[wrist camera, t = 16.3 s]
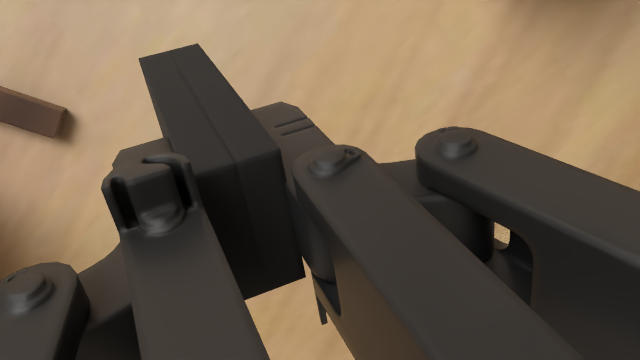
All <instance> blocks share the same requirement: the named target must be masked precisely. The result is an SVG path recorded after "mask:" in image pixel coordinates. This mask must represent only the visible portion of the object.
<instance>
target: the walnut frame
mask: <svg viewBox="0 0 640 360" xmlns="http://www.w3.org/2000/svg"><path fill="white" fill-rule="evenodd" d="M65 112H66V108H63V107H60V106H57V105H54V104H51V103H48V102H45V101H42V100H39V99H37V98H34V97H31V96H28V95H25V94H22V93H19V92H16V91H13V90H10V89H7V88H4V87H1V86H0V121H2V122H5V123H8V124H11V125H14V126H17V127H20V128H23V129H26V130H29V131H33V132H36V133H39V134H42V135H45V136H48V137H51V138H56V137H57V136H58V135H59V133H60V129H61V126H62V122H63V119H64V115H65Z"/></svg>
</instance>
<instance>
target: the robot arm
mask: <svg viewBox="0 0 640 360" xmlns="http://www.w3.org/2000/svg"><path fill="white" fill-rule="evenodd" d="M139 62H140V65H141V68H142V71H143V74H144V77H145V81H146V84H147V87H148V90H149V93H150V96H151V99H152V103H153V106H154V109H155V112H156V115H157V118H158V122H159V125H160V128H161V131H162V134H163V137H164V138H161V139H158V140H154V141H151V142H147V143H144V144H141V145H137V146H134V147H130V148H127V149H123V150H120V152H119V154H118V155H117V157H116V159H115V160H114V162H113V164H112V166H113V170H112V171H111V172H110V173H109V174H108V175H107V176H106V177H105V179H104V180H103V183H102V187H101V190H102V192H103V195H104V197H105V200H106V202H107V205H108V207H109V210H110V212H111V215H112V217H113V220H114V222H115V225H116V227H117V230H118V232H119V236H120V243H119V244H118V245H117V247H116V248H115V249H114V250H113V251H112V252H111V253H110V254H109V255H107V256H106V257H105V258H104V259H102V260H101V261H99V262H98V263H96V264H95V265H93V266H91V267H89V268H88V269H86V270H84V271H82V272H80V273H79V274H77V273H76V272H75V271H74V269H73V268H72V267H71V266H70V265H67V264H63V263H59V262H52V263H40V264H37V265H34V266H31V267H26V268H23V269H21V270H19V271H16V273H12V274H11V275H9V276H7V277H6V278H4V279H3V280H2V281H1V282H0V360H270V358H269V356H268V354H267V351H266V349H265V347H264V345H263V342H262V340H261V338H260V335H259V333H258V331H257V328H256V326H255V324H254V322H253V319H252V317H251V315H250V312H249V310H248V308H247V306H246V303H245V301H244V300H246V299H249V298H252V297H254V296H257V295H260V294H262V293H265V292H268V291H270V290H273V289H276V288H278V287H281V286H284V285H286V284H289V283H291V282H294V281H297V280H299V279H302V278H305V277H306V275H305V270H304V265H303V260H302V257H303V258H304V260H305V261H306V263H307V265H308V266H309V268H310V269H311V274H312V279H313V284H314V290H315V295H316V300H317V305H318V310H319V316H320V320H321V323H322V325H323V324H326V323H328V322H327V317H326V312H327V313H328V315H329V317H330V318H331V320H332V322H333V323H334V325H335V327H336V328H337V330H338V332H339V333H340V335H341V337H342V338H343V340H344V342H345V343H346V345H347V347H348V348H349V350H350V352H351V353H352V355H353V357H354V358H355V360H640V192H639V191H637V190H634V189H632V188H629V187H626V186H624V185H621V184H619V183H616V182H613V181H611V180H608V179H606V178H603V177H600V176H598V175H595V174H593V173H590V172H587V171H585V170H582V169H580V168H577V167H574V166H572V165H569V164H567V163H564V162H561V161H559V160H556V159H554V158H551V157H548V156H546V155H543V154H541V153H538V152H535V151H533V150H530V149H528V148H525V147H522V146H520V145H517V144H515V143H512V142H509V141H507V140H504V139H502V138H499V137H496V136H494V135H491V134H489V133H486V132H483V131H480V130H476V129H472V128H462V127H455V126H454V127H448V128H446V127H445V128H441V129H438V130H436V131H433V132H430V133H427V134H426V135H424V136H423V137H422V138H420V139H419V140H418V142H417V144H416V146H415V157H416V159H414V160H407V161H399V162H392V163H376V162H375V161H374V160H373V159H372V158H371V157H370V156H369V155H368V154H367V153H366V152H364V151H362V150H361V149H359V148H357V147H353V146H348V145H335V144H334V143H333V142H332V141H331V140H330V139H329V138H328V137H327V136H326V135H325V134H324V133H323V132H322V131H321V130H320V129H319V128H318V127H317V126H315V124H314V123H313V122H312V121H311V120H310V119H309V118H307V116H306V115H305V114H304V113H303V112H302V111H301V110H300V109H299V108H298V107H296V106H293V105H290V104H287V103H284V102H278V103H274V104H271V105H268V106H264V107H261V108H257V109H254V110H250V109H249V108H248V107H247V106H246V104H245V103H244V102H243V100H242V99H241V98H240V97H239V95H238V94H237V93H236V92H235V90H234V89H233V88H232V86H231V85H230V84H229V83H228V81H227V80H226V79H225V77H224V76H223V75H222V74H221V72H220V71H219V70H218V69H217V67H216V66H215V65H214V63H213V62H212V61H211V60H210V58H209V57H208V56H207V55H206V53H205V52H204V51H203V49H202V48H201V47H200V46H199V44H198V43H197V44H194V45H190V46H186V47H182V48H178V49H174V50H170V51H166V52H162V53H158V54H154V55H150V56H146V57H143V58H139ZM495 222H496V223H498V224H500V225H502V226H504V227H506V228H507V229H509V230H510V241H509V244H506V243H503V242H501V241H499V240H497V239H495V238H494V223H495Z"/></svg>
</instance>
